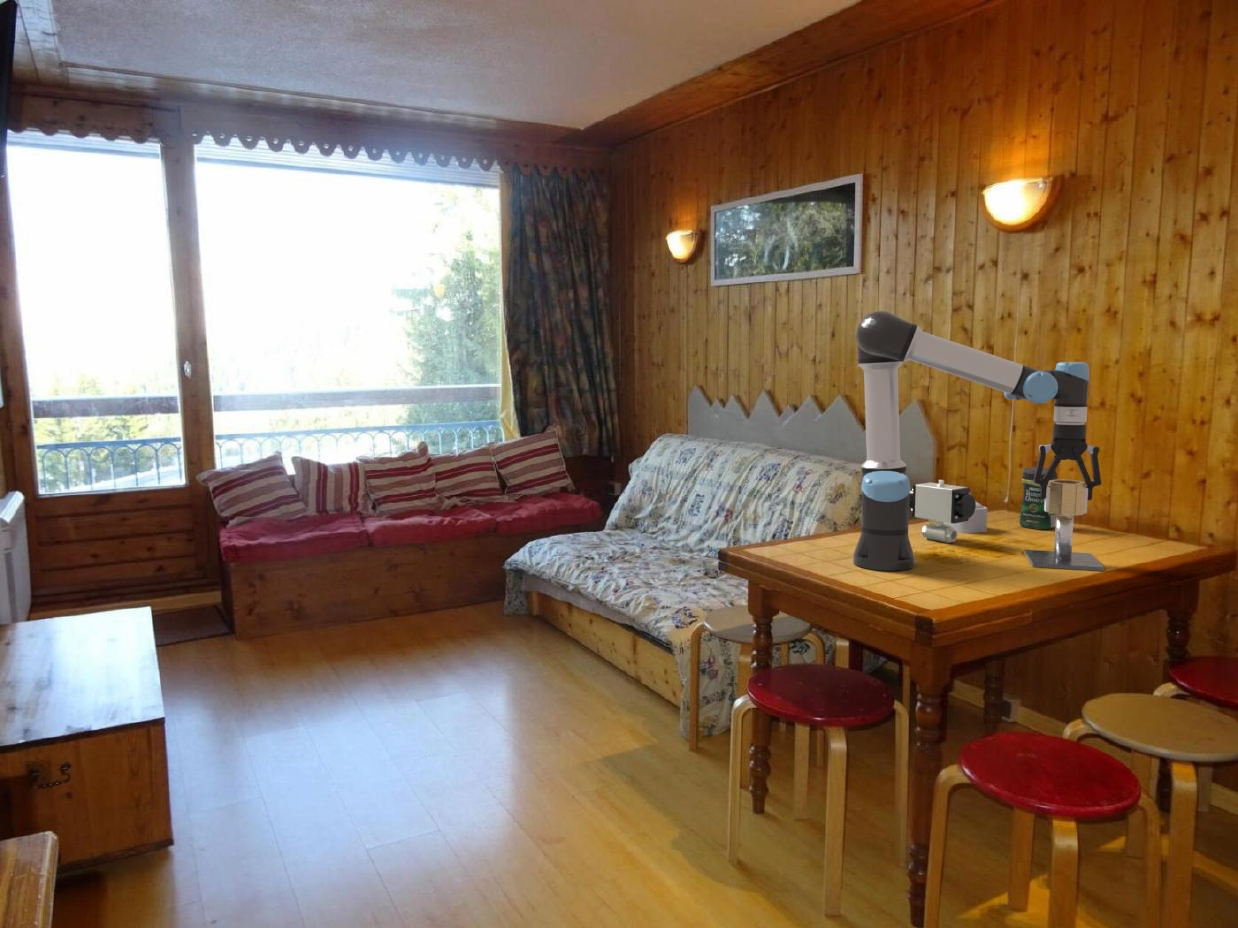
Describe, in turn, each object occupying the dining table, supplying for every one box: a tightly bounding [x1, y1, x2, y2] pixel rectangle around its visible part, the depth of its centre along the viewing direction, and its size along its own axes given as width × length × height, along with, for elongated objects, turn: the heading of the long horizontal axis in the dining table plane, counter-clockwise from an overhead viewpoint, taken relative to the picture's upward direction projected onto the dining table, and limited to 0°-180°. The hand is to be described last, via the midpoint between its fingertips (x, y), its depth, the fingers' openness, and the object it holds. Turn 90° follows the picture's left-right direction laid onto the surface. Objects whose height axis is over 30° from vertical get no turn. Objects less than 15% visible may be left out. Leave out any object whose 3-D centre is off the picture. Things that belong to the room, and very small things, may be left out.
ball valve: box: [909, 479, 977, 544], centre depth 255 cm, size 18×8×18 cm, turn 36°
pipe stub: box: [1024, 514, 1105, 572], centre depth 228 cm, size 16×16×12 cm
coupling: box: [1048, 478, 1086, 517], centre depth 227 cm, size 8×8×8 cm
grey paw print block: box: [944, 500, 988, 534], centre depth 272 cm, size 10×13×9 cm
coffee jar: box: [1019, 466, 1058, 530], centre depth 272 cm, size 10×8×19 cm
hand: (1065, 511), depth 227 cm, fingers closed on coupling, 8 cm apart
